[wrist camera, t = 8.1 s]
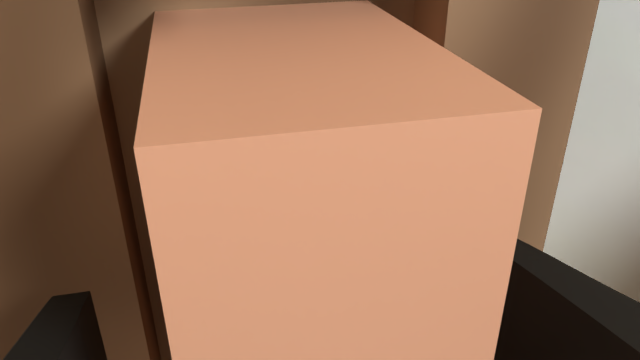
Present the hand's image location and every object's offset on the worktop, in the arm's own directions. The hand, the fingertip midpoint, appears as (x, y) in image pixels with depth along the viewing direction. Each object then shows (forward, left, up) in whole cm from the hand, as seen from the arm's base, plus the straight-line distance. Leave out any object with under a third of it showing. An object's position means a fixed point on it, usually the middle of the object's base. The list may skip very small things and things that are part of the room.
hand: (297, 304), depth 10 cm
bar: (0, 0, -3) cm, 3 cm away
